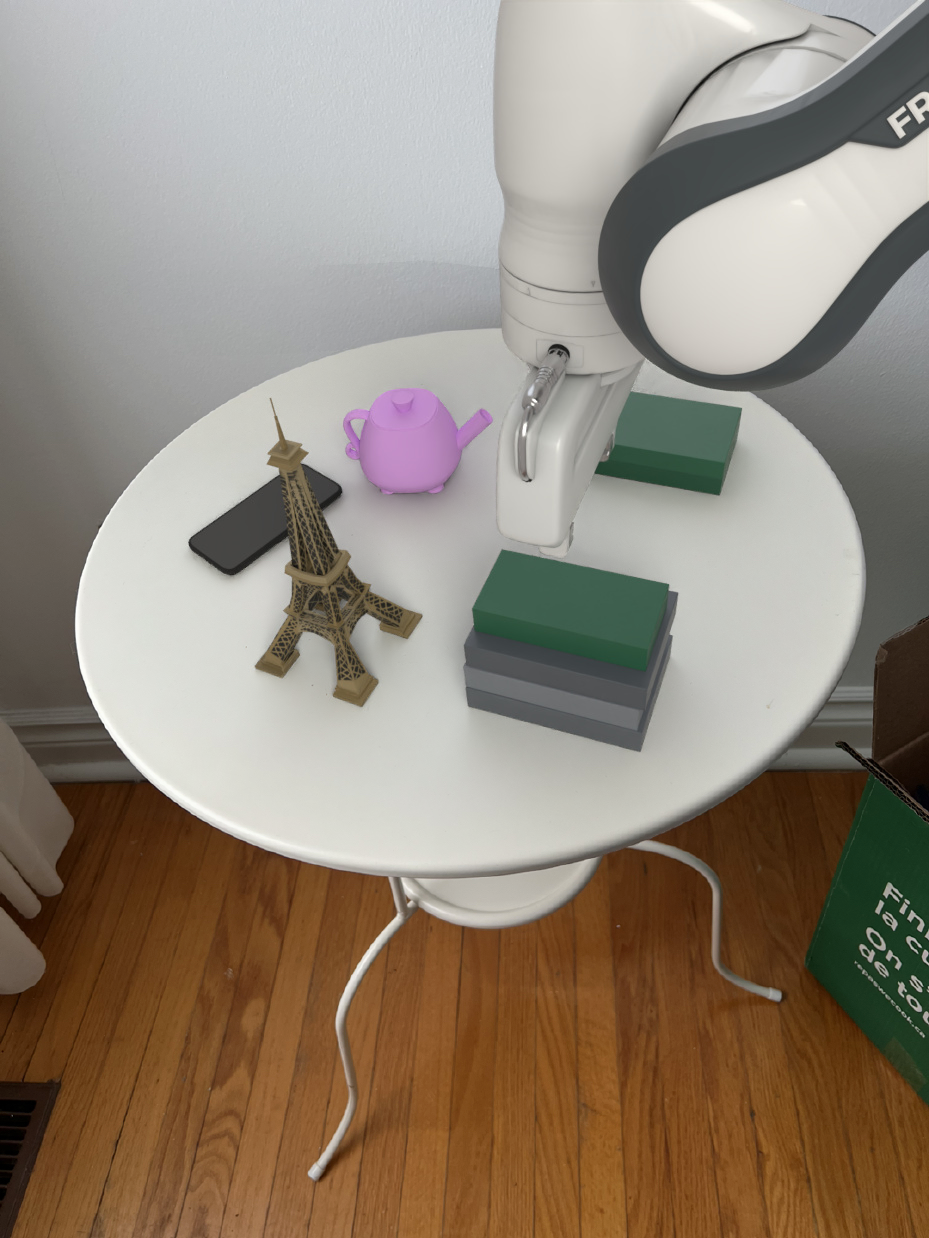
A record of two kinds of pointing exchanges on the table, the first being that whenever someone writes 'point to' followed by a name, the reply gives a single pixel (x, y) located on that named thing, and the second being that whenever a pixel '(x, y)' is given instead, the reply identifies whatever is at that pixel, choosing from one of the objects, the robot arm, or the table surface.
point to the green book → (572, 609)
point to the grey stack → (567, 686)
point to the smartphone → (255, 524)
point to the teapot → (410, 440)
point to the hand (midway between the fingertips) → (578, 499)
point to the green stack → (673, 442)
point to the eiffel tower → (323, 586)
